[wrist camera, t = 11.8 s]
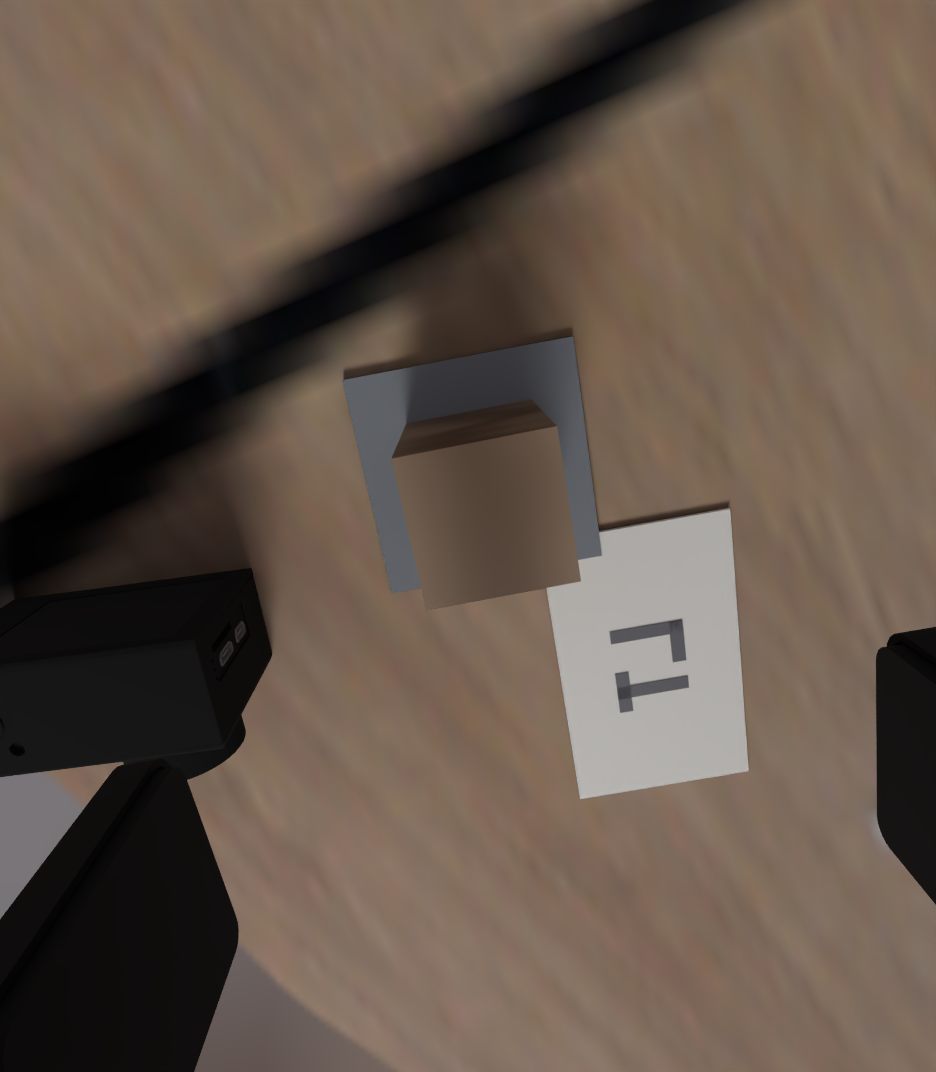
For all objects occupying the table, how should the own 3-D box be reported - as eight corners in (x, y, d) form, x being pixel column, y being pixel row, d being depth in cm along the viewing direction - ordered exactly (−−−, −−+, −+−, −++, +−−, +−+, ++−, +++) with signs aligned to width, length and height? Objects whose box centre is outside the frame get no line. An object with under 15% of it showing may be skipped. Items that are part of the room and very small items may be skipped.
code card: (728, 507, 29) (730, 509, 29) (746, 768, 33) (748, 771, 33) (538, 541, 29) (539, 543, 29) (579, 796, 33) (580, 799, 33)
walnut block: (531, 398, 27) (556, 426, 20) (550, 519, 29) (581, 581, 22) (405, 423, 27) (391, 458, 21) (432, 542, 29) (426, 610, 22)
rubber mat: (571, 336, 27) (573, 336, 26) (600, 553, 29) (602, 555, 29) (343, 379, 27) (342, 380, 27) (392, 590, 30) (391, 593, 29)
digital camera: (52, 709, 31) (-57, 816, 25) (12, 599, 30) (-115, 681, 23) (279, 680, 31) (232, 780, 24) (252, 567, 29) (193, 641, 23)
